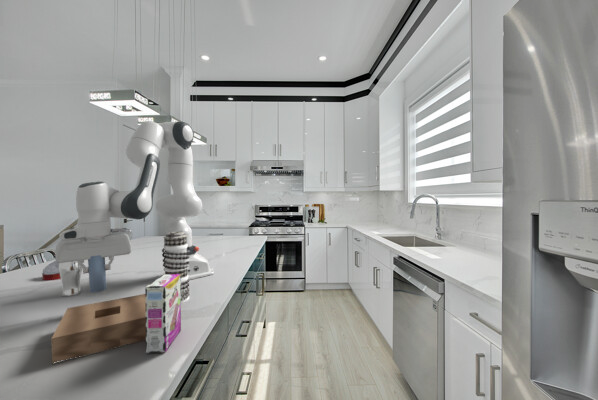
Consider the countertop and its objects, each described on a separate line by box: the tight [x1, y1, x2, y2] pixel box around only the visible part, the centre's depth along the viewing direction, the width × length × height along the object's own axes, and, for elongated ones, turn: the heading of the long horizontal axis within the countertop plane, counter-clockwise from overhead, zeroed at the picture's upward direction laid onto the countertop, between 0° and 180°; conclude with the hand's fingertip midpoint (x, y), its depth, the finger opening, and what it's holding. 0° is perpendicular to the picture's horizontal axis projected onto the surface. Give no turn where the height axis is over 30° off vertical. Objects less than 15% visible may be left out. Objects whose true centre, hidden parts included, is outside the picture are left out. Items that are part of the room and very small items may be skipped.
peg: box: [87, 255, 107, 294], centre depth 91 cm, size 4×4×12 cm
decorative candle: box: [161, 231, 190, 304], centre depth 99 cm, size 9×9×25 cm
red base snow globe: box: [41, 260, 61, 282], centre depth 129 cm, size 11×10×10 cm
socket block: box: [51, 293, 146, 363], centre depth 76 cm, size 20×20×6 cm
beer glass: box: [59, 261, 83, 298], centre depth 107 cm, size 7×7×15 cm
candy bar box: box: [144, 274, 182, 354], centre depth 71 cm, size 11×5×16 cm, turn 5°
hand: (97, 271), depth 91 cm, fingers closed on peg, 4 cm apart
